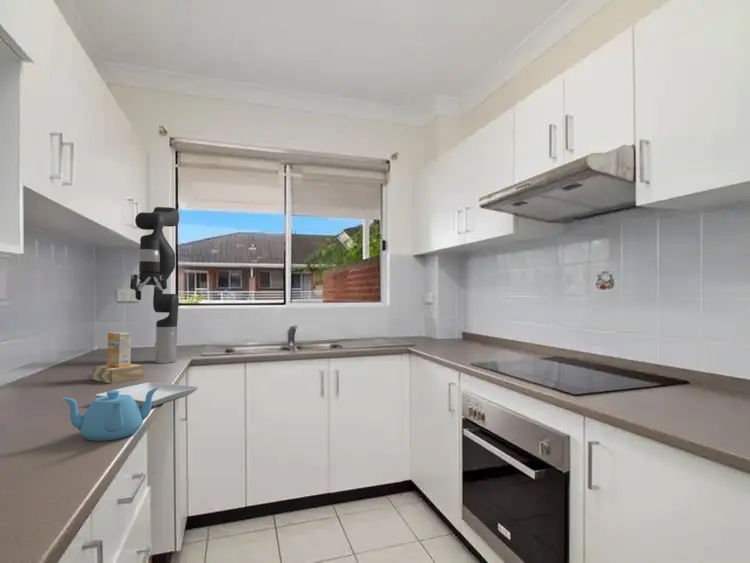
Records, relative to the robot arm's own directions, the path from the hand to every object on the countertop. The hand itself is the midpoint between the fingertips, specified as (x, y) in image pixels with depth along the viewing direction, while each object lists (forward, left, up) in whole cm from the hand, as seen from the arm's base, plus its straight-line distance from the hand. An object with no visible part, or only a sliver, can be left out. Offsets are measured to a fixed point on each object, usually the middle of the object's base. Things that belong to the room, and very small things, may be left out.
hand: (148, 299), depth 178 cm
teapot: (+66, -48, -31) cm, 87 cm away
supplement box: (0, -12, -26) cm, 29 cm away
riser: (0, -12, -31) cm, 33 cm away
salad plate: (+41, -24, -32) cm, 57 cm away
